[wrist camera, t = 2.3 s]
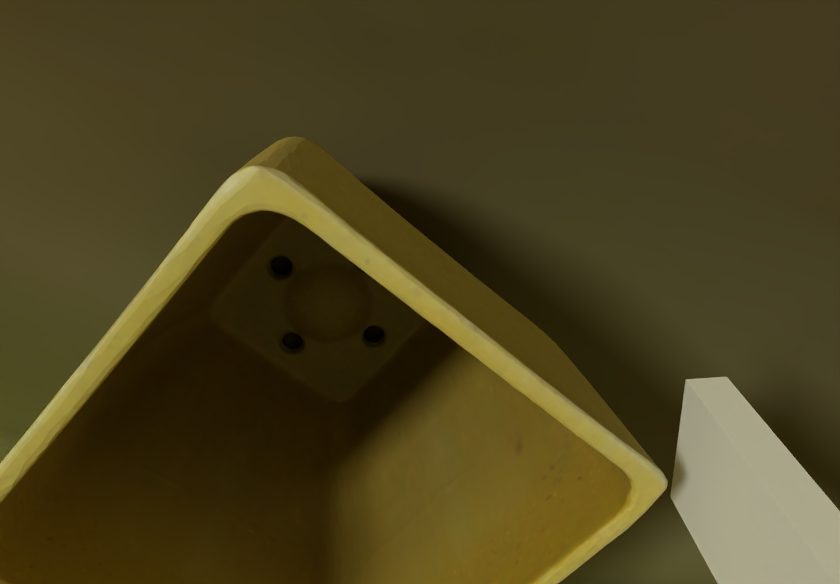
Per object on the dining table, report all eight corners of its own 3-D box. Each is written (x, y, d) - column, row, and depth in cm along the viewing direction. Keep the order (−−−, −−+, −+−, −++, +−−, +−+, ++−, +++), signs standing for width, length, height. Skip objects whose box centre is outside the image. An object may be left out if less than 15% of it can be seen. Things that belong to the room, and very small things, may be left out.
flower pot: (304, 57, 17) (250, 150, 9) (553, 274, 20) (685, 493, 12) (102, 311, 19) (-85, 566, 11) (351, 471, 22) (345, 766, 14)
